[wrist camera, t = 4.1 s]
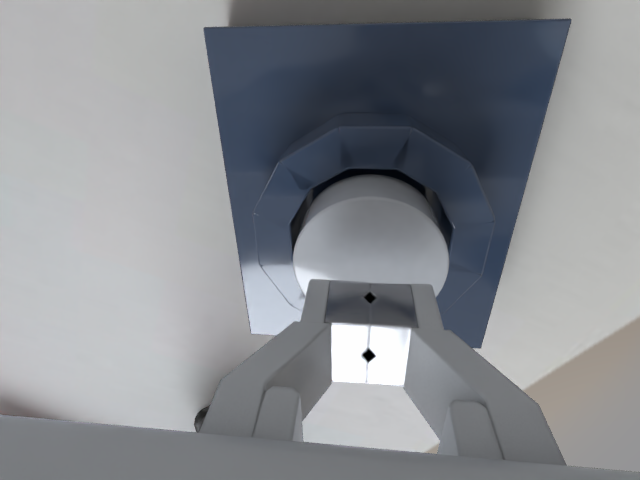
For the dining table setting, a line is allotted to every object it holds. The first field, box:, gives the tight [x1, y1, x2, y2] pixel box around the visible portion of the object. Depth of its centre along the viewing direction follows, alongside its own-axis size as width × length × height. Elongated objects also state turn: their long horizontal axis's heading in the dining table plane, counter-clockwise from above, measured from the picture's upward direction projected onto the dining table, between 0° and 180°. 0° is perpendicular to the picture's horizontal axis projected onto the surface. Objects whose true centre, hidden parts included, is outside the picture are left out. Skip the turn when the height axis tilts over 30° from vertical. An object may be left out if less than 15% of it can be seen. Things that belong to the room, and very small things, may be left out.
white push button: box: [293, 174, 449, 297], centre depth 11 cm, size 4×4×2 cm
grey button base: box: [204, 19, 571, 348], centre depth 13 cm, size 12×10×4 cm
